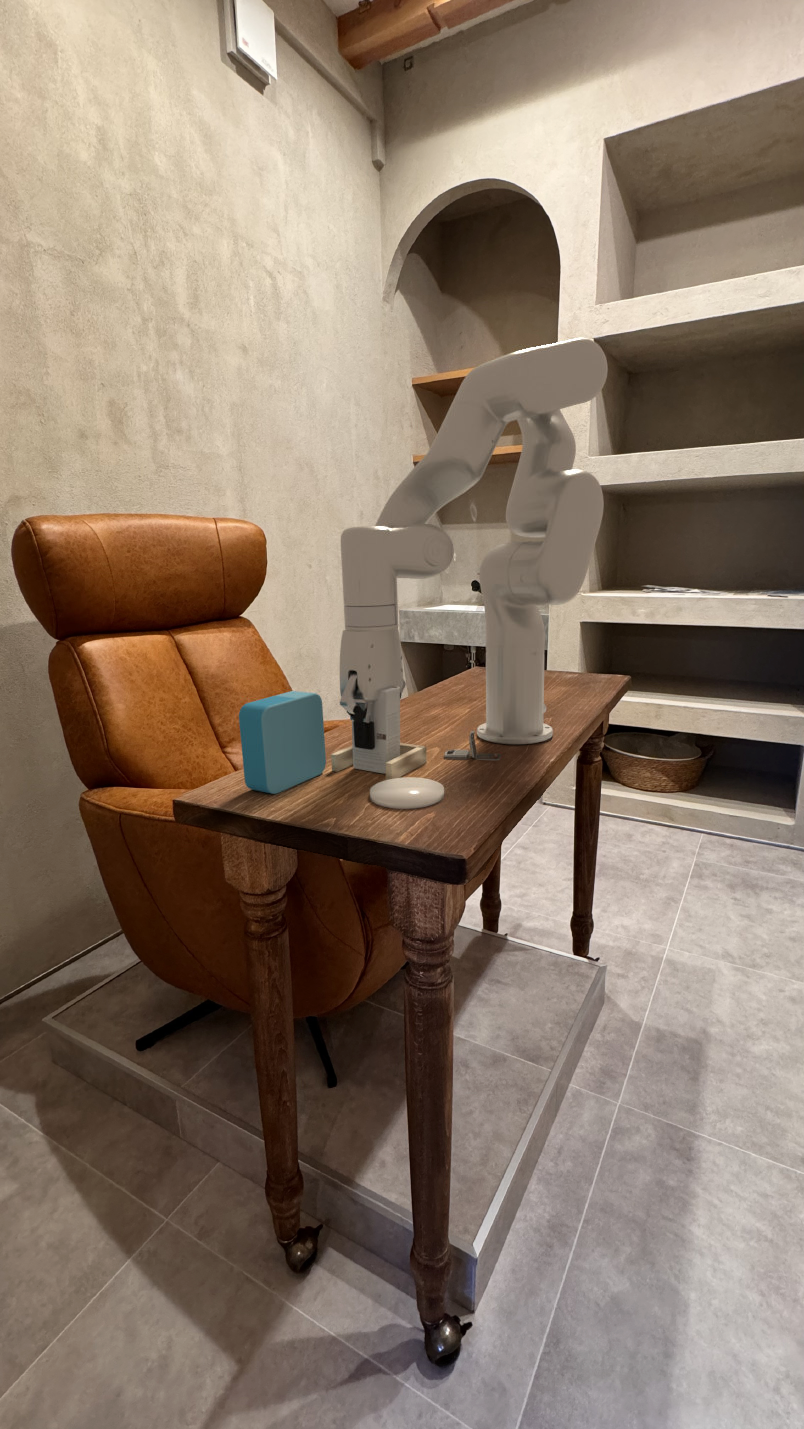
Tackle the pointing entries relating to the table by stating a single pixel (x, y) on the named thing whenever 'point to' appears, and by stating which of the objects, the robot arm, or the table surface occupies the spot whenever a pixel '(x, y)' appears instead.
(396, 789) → the ceramic coaster
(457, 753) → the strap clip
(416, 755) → the stand
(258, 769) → the data package
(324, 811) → the table surface
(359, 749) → the skincare box
